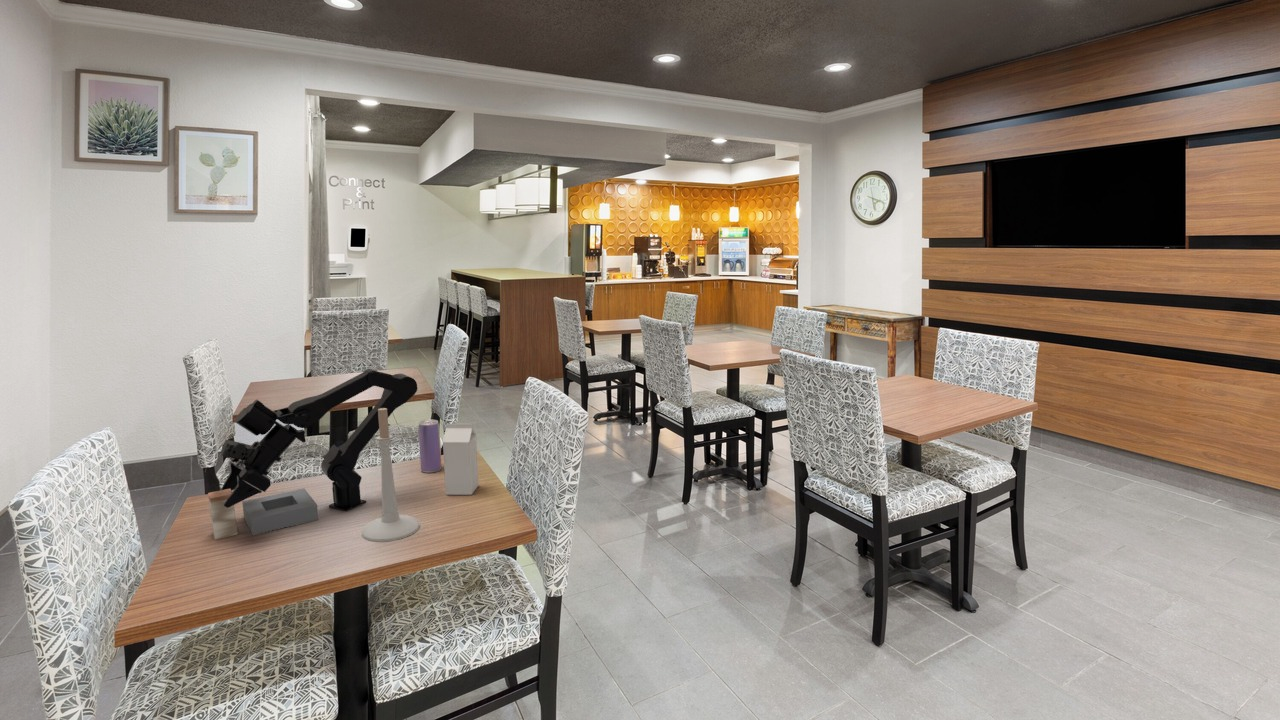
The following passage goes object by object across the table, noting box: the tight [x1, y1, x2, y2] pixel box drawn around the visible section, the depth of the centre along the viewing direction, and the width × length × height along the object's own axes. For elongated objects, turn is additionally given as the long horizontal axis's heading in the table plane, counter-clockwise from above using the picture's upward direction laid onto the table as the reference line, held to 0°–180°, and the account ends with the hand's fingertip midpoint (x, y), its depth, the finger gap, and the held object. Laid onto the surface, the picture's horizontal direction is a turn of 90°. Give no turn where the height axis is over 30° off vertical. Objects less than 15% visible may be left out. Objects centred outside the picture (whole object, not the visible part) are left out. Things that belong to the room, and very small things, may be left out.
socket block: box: [241, 488, 319, 536], centre depth 158 cm, size 14×14×4 cm
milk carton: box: [442, 423, 479, 496], centre depth 175 cm, size 7×7×19 cm
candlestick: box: [361, 408, 421, 542], centre depth 149 cm, size 13×13×30 cm
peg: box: [207, 489, 238, 540], centre depth 149 cm, size 4×4×10 cm
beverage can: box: [417, 419, 442, 474], centre depth 192 cm, size 6×6×15 cm
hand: (223, 500), depth 148 cm, fingers open, 9 cm apart
